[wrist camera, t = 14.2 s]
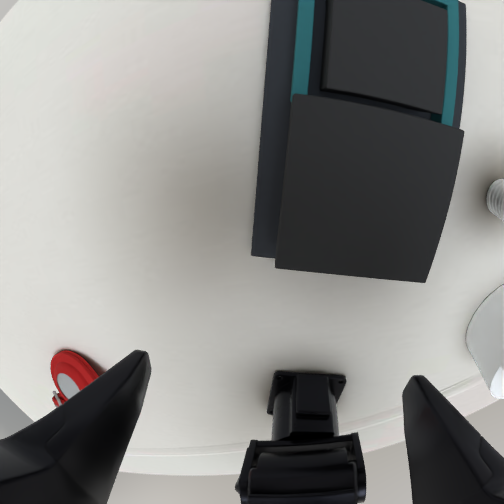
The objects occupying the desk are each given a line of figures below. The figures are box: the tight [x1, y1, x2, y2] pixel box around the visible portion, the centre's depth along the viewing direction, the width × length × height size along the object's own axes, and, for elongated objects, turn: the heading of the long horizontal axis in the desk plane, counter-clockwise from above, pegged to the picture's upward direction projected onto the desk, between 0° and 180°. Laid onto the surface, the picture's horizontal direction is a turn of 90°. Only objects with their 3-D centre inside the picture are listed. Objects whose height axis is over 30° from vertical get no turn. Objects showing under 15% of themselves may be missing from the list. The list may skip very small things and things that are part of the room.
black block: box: [319, 0, 448, 114], centre depth 12 cm, size 6×6×3 cm
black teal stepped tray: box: [251, 0, 466, 283], centre depth 15 cm, size 19×12×4 cm, turn 176°
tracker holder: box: [51, 350, 99, 407], centre depth 30 cm, size 12×4×10 cm
